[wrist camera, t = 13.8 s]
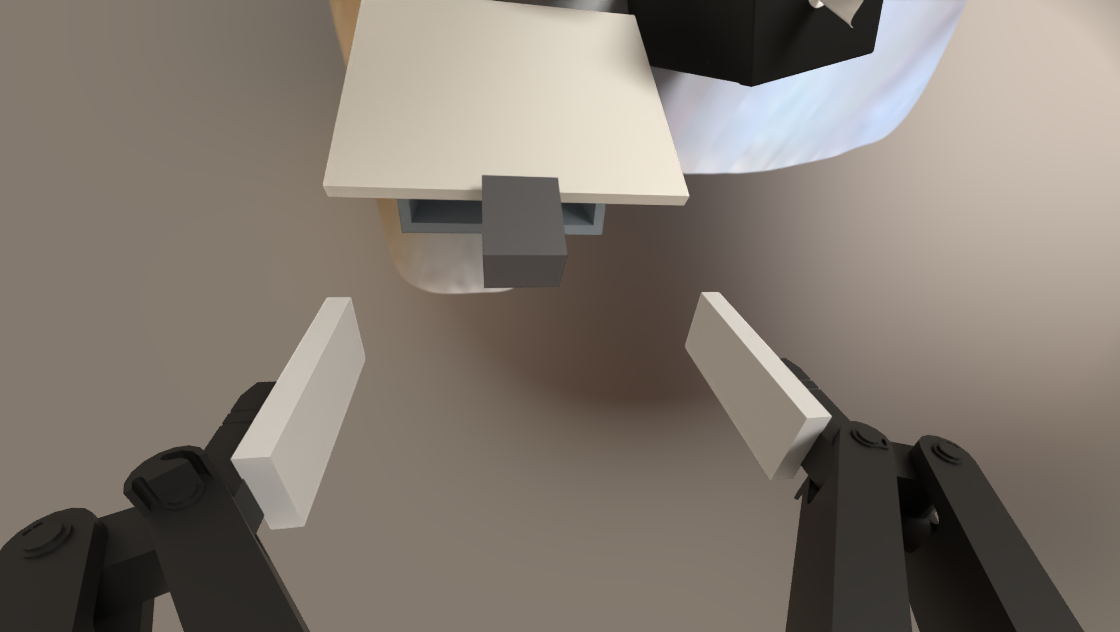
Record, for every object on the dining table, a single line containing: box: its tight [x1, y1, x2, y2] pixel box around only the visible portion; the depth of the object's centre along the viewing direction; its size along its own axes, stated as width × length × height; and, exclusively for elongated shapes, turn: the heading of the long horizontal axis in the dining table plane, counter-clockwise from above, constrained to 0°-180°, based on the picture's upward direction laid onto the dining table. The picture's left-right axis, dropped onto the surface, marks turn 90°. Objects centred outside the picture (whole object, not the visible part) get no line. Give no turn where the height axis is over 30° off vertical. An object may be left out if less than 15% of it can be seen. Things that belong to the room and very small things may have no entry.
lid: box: [323, 0, 689, 288], centre depth 26 cm, size 24×20×3 cm
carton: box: [397, 199, 606, 235], centre depth 42 cm, size 18×20×12 cm
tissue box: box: [628, 0, 883, 87], centre depth 32 cm, size 8×8×28 cm
